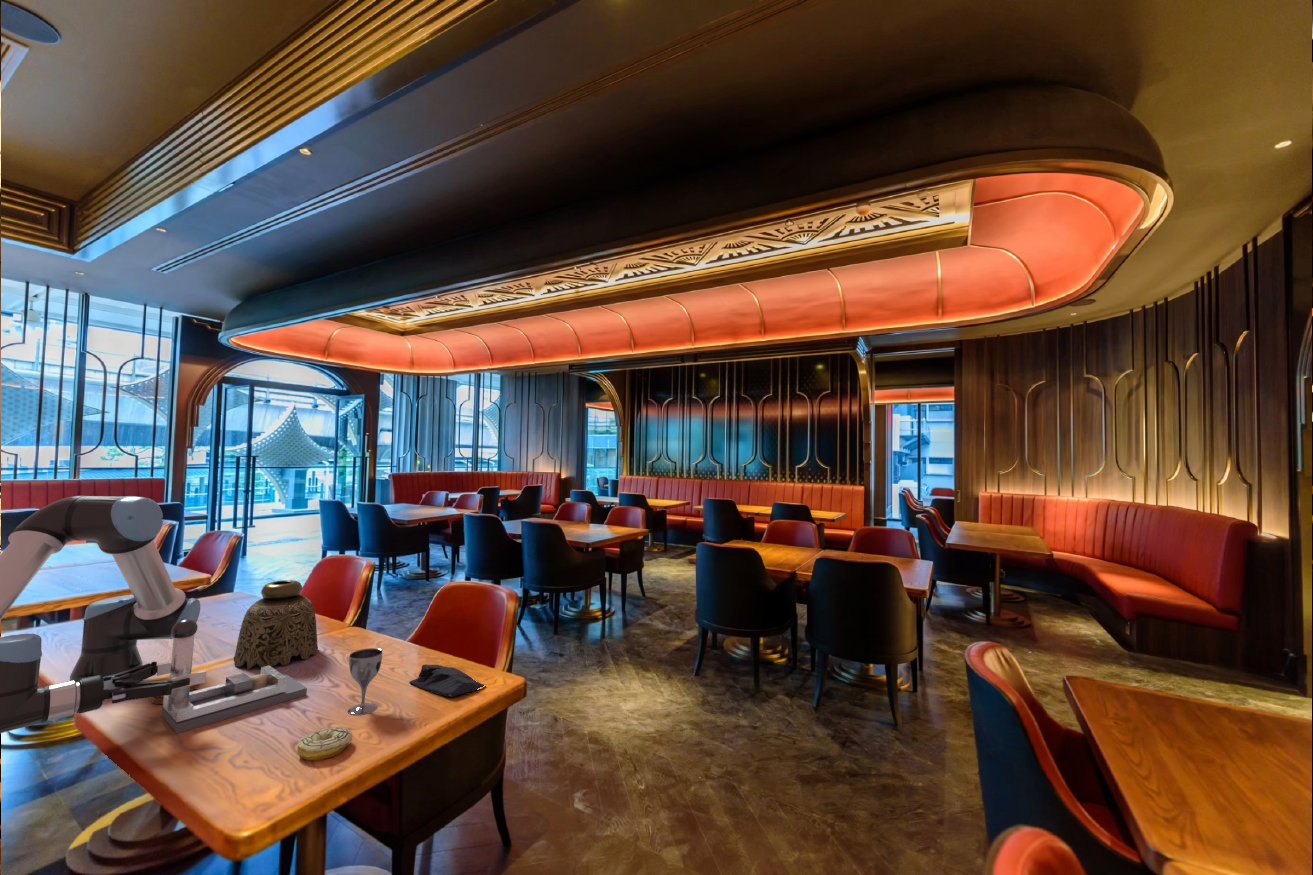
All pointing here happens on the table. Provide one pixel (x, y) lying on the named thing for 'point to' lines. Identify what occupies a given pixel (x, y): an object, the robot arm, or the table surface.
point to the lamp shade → (277, 627)
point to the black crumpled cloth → (445, 680)
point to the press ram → (182, 697)
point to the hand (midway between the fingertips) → (198, 669)
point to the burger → (160, 698)
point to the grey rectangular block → (238, 684)
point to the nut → (259, 681)
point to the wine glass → (364, 675)
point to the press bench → (235, 707)
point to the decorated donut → (324, 743)
